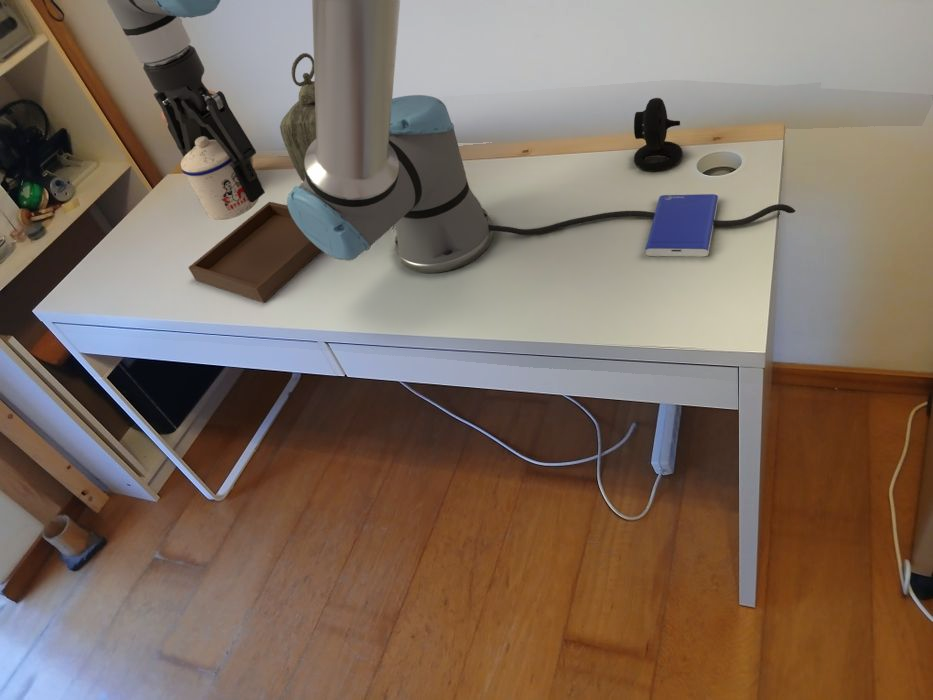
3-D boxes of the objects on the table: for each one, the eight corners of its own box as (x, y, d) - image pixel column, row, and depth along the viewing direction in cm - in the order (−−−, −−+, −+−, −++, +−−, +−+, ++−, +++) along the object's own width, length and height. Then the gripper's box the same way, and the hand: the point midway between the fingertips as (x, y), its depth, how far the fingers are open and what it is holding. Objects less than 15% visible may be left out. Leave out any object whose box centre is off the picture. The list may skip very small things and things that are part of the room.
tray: (344, 230, 128) (338, 216, 126) (264, 303, 118) (256, 289, 116) (275, 214, 138) (269, 201, 136) (195, 280, 128) (187, 267, 126)
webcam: (638, 147, 125) (633, 90, 118) (685, 145, 122) (682, 86, 115) (630, 173, 120) (623, 115, 113) (678, 172, 117) (675, 112, 110)
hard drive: (659, 194, 111) (645, 247, 103) (717, 193, 108) (708, 247, 100) (659, 203, 112) (646, 256, 104) (718, 202, 109) (708, 256, 101)
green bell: (355, 213, 131) (299, 76, 115) (311, 214, 135) (251, 81, 118) (386, 167, 141) (339, 34, 124) (344, 169, 144) (293, 39, 127)
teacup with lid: (237, 224, 115) (202, 157, 108) (195, 219, 120) (158, 154, 112) (283, 180, 122) (253, 113, 115) (242, 177, 127) (210, 112, 119)
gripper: (235, 44, 101) (300, 189, 116) (143, 39, 113) (213, 171, 128) (194, 71, 97) (266, 217, 112) (103, 63, 109) (179, 196, 124)
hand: (237, 192), depth 120 cm, fingers closed on teacup with lid, 9 cm apart
